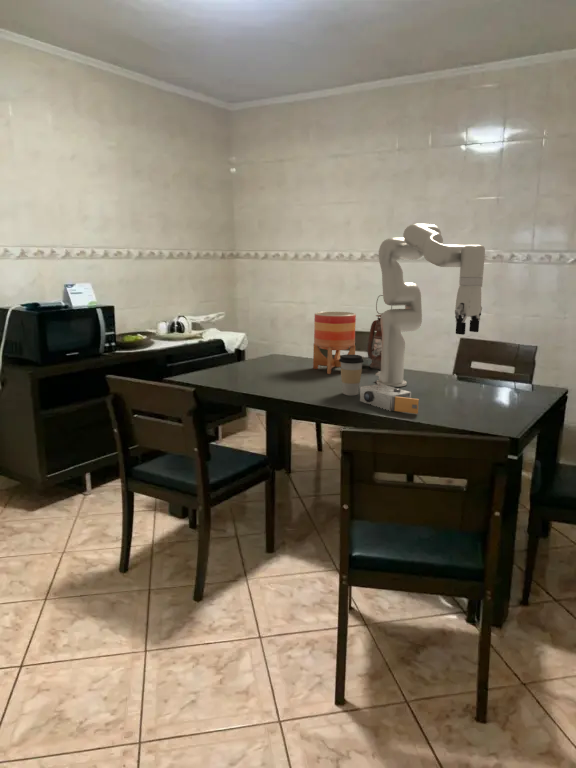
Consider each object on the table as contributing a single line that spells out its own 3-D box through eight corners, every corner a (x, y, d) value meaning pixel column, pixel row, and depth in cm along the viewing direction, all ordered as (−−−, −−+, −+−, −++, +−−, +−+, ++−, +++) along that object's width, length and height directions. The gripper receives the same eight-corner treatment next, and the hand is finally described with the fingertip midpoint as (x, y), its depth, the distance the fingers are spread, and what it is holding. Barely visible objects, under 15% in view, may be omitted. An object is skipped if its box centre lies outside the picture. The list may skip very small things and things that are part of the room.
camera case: (357, 401, 208) (358, 385, 207) (379, 397, 214) (380, 381, 213) (387, 411, 195) (388, 394, 194) (410, 407, 202) (411, 390, 200)
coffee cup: (366, 392, 222) (367, 355, 219) (356, 397, 214) (357, 359, 211) (344, 389, 227) (345, 353, 223) (334, 394, 219) (335, 356, 215)
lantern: (373, 363, 283) (376, 293, 275) (401, 367, 273) (405, 295, 265) (361, 366, 275) (363, 294, 267) (389, 371, 265) (393, 296, 257)
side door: (392, 409, 196) (392, 395, 195) (417, 413, 192) (418, 399, 191) (390, 410, 195) (391, 396, 194) (417, 414, 191) (417, 399, 190)
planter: (318, 364, 279) (319, 310, 273) (358, 367, 273) (360, 312, 267) (307, 372, 260) (308, 314, 254) (349, 375, 254) (351, 316, 248)
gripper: (472, 281, 198) (468, 330, 202) (447, 282, 186) (444, 334, 190) (492, 282, 193) (488, 331, 197) (468, 283, 181) (465, 336, 185)
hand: (467, 332), depth 193 cm, fingers open, 9 cm apart
